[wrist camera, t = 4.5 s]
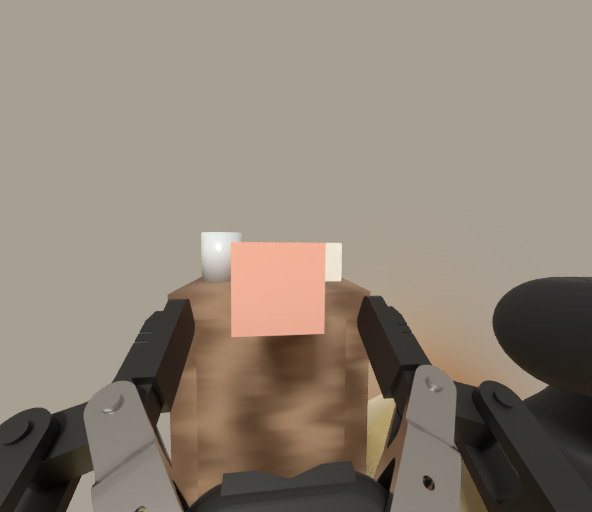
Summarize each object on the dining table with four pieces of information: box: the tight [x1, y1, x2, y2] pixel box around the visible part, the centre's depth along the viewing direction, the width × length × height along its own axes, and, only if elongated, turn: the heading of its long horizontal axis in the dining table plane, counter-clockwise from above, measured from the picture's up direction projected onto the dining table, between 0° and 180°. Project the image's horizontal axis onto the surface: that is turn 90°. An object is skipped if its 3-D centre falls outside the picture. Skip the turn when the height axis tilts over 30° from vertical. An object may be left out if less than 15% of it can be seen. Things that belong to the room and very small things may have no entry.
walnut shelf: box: [168, 277, 370, 506], centre depth 27 cm, size 16×14×32 cm
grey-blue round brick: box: [201, 232, 242, 282], centre depth 27 cm, size 4×4×5 cm
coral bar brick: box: [231, 242, 326, 337], centre depth 22 cm, size 4×23×4 cm, turn 7°
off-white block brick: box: [325, 243, 342, 281], centre depth 28 cm, size 4×5×4 cm
